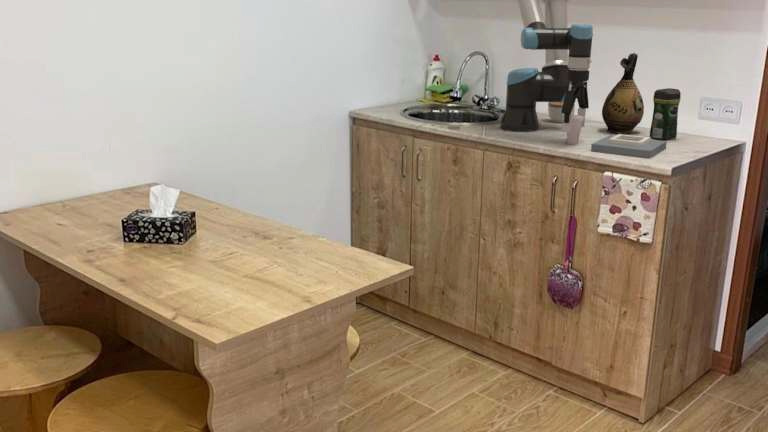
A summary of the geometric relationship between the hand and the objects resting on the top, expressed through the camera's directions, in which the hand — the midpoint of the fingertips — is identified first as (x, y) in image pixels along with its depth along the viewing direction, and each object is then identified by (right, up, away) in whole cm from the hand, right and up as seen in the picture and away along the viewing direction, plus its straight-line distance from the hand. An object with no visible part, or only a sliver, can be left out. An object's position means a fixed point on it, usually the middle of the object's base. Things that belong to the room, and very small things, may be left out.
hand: (573, 129), depth 276 cm
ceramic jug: (+25, +2, +25) cm, 35 cm away
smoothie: (0, -5, +2) cm, 5 cm away
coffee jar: (+36, -2, +12) cm, 38 cm away
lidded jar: (+5, +8, +45) cm, 46 cm away
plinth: (+17, -8, -8) cm, 21 cm away
